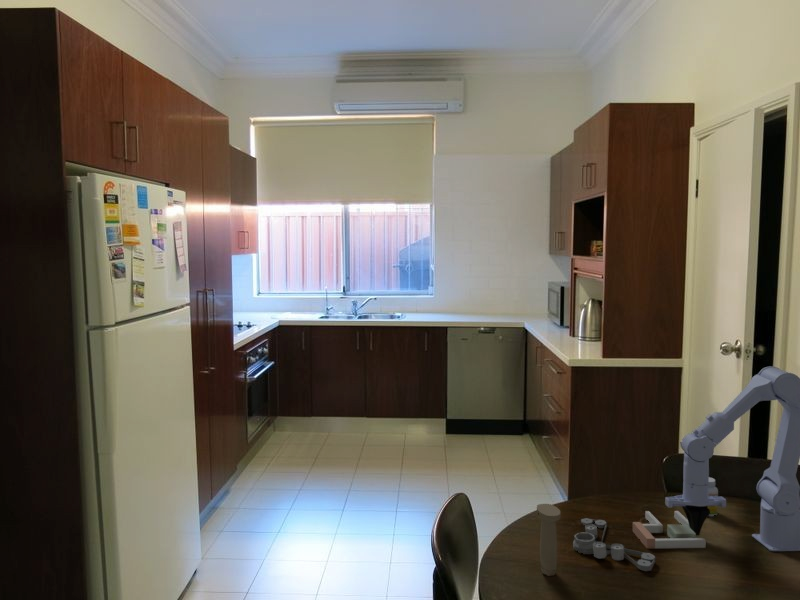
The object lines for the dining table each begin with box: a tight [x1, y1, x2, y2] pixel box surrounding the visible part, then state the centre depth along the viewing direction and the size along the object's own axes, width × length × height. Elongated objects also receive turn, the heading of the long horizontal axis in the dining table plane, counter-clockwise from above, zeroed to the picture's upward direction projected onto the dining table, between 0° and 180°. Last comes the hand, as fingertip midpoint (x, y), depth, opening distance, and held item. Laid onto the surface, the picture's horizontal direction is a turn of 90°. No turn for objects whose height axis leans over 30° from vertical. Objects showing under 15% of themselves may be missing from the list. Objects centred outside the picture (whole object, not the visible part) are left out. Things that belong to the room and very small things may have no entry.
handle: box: [536, 503, 561, 577], centre depth 130 cm, size 5×6×15 cm
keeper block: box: [666, 523, 697, 538], centre depth 145 cm, size 5×5×3 cm
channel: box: [642, 510, 707, 549], centre depth 149 cm, size 14×16×2 cm
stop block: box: [632, 521, 656, 549], centre depth 145 cm, size 2×9×2 cm, turn 179°
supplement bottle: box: [707, 476, 719, 517], centre depth 159 cm, size 5×5×10 cm
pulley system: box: [572, 517, 656, 572], centre depth 142 cm, size 27×5×15 cm
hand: (694, 533), depth 145 cm, fingers closed
